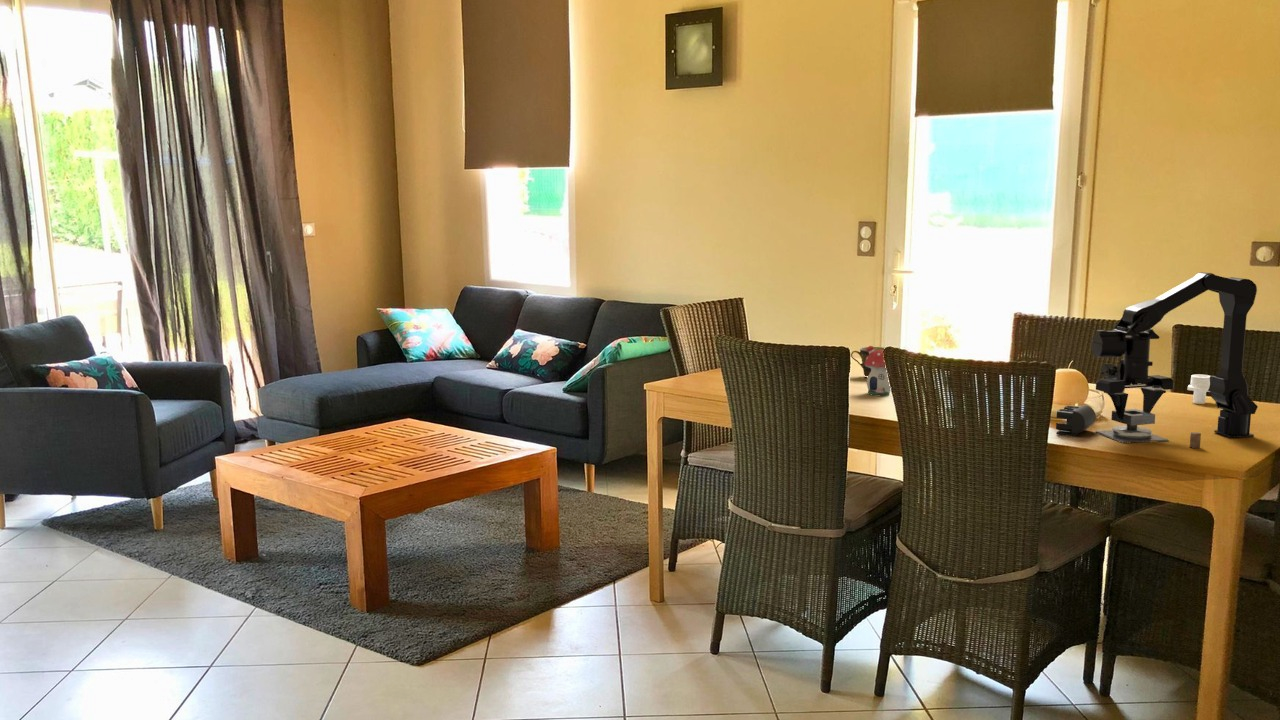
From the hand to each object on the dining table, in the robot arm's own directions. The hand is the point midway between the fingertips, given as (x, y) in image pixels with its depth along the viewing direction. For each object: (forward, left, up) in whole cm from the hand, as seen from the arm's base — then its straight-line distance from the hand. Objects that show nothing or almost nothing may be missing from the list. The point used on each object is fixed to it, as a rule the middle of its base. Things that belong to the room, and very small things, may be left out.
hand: (1132, 417), depth 256 cm
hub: (0, 0, -5) cm, 5 cm away
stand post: (-8, +13, -5) cm, 16 cm away
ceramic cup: (+33, -97, -5) cm, 103 cm away
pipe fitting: (-45, -36, -5) cm, 58 cm away
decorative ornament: (+41, -68, -5) cm, 80 cm away
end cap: (+11, -7, -5) cm, 14 cm away
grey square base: (0, 0, -1) cm, 1 cm away
